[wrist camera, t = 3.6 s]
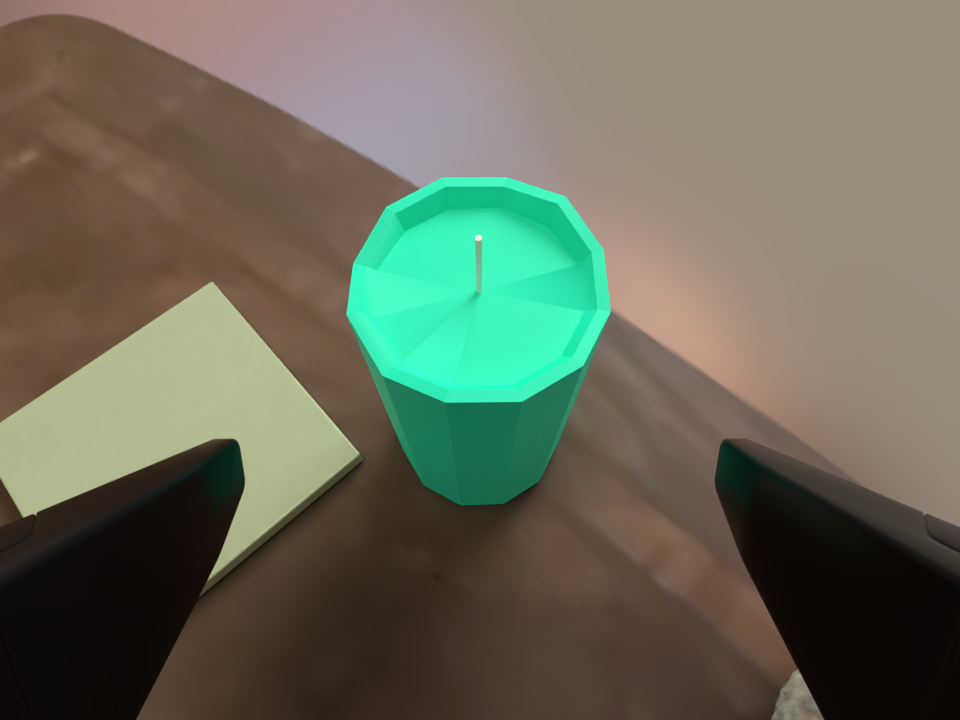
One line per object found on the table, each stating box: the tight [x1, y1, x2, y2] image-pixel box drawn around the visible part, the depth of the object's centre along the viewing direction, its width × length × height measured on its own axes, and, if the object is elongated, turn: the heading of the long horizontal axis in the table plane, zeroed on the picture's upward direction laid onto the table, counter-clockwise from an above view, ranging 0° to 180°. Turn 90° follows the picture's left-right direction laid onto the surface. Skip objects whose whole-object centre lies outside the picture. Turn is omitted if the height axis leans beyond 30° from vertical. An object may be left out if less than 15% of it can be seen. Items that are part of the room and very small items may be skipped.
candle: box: [347, 177, 611, 505], centre depth 17 cm, size 6×6×12 cm
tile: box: [0, 282, 363, 597], centre depth 22 cm, size 10×10×1 cm
